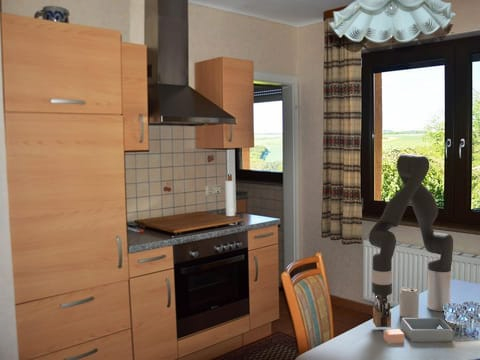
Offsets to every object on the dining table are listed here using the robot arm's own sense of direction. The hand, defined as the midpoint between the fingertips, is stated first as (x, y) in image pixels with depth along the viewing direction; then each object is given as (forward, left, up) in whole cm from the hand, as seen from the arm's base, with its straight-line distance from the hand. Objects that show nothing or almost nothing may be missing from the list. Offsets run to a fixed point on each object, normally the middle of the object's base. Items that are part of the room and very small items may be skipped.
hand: (381, 323), depth 188 cm
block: (0, 0, -1) cm, 1 cm away
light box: (+10, +2, -3) cm, 10 cm away
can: (-14, +15, -3) cm, 20 cm away
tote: (+5, +15, -3) cm, 16 cm away
